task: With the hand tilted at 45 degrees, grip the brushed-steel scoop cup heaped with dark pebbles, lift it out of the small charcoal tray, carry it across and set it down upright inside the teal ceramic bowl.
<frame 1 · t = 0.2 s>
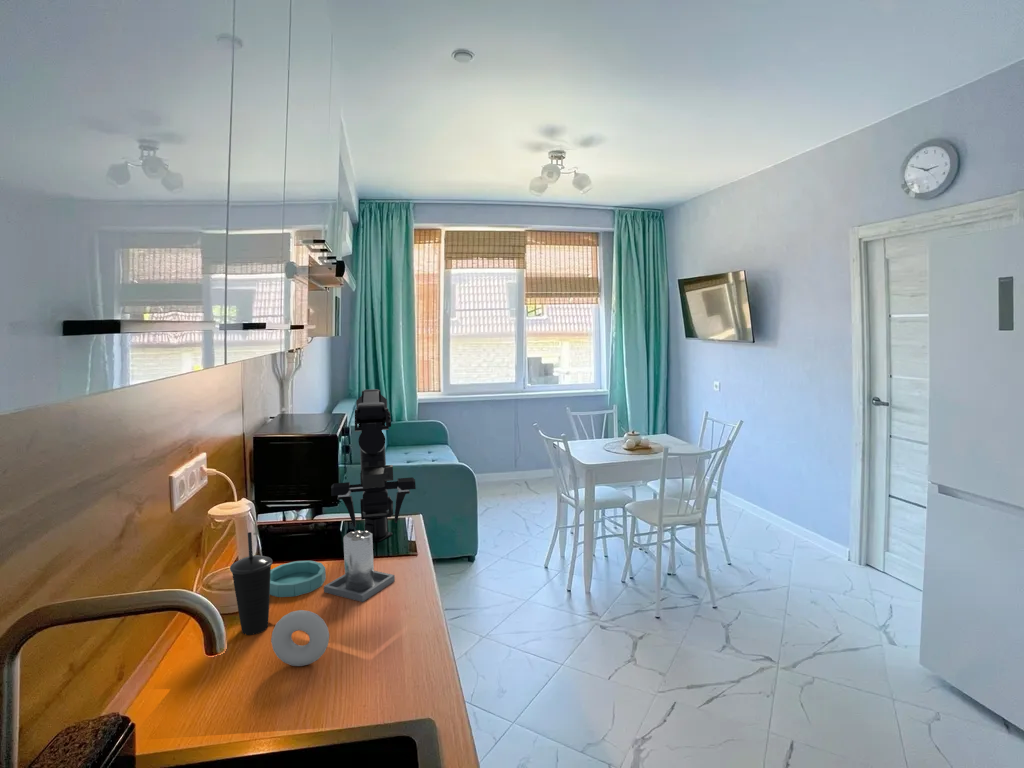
hand: (375, 524, 126), 15 cm above the worktop, tool tilted 15°, fingers open, 9 cm apart
parts tray: (360, 589, 127), on the worktop
drinking cup: (255, 629, 111), on the worktop
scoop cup: (360, 586, 127), point 1 cm above the worktop, touching parts tray
donut: (301, 665, 99), on the worktop
bowl: (295, 586, 129), on the worktop
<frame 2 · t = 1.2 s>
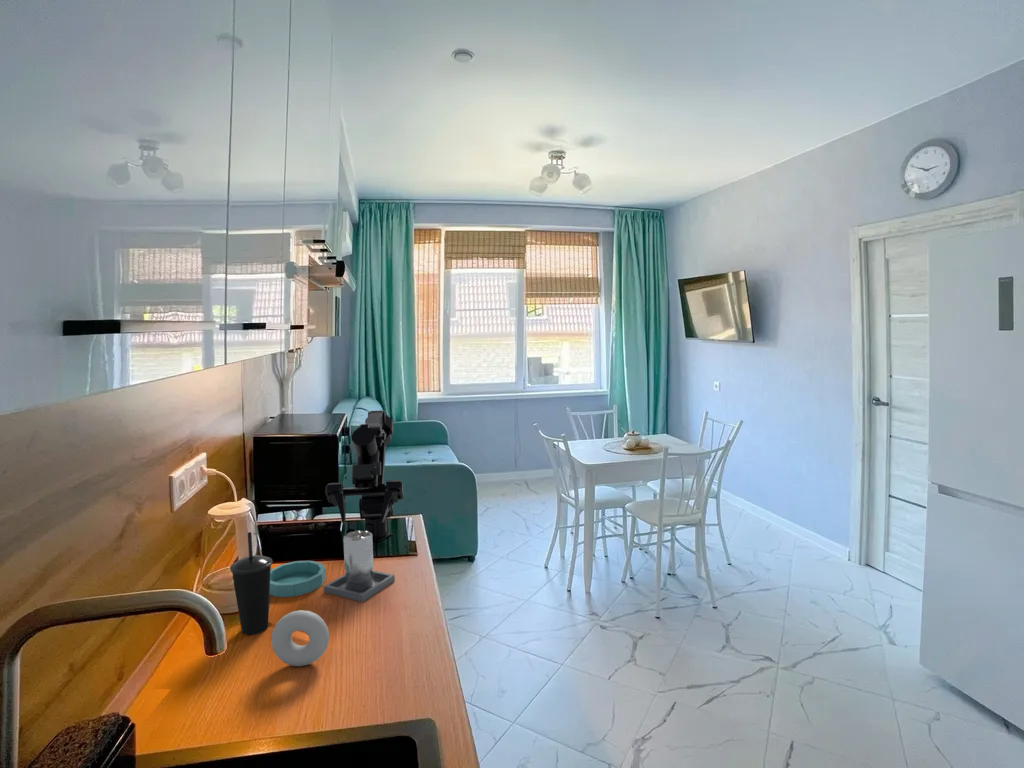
hand: (362, 522, 134), 13 cm above the worktop, tool tilted 45°, fingers open, 9 cm apart
nothing on the worktop moved.
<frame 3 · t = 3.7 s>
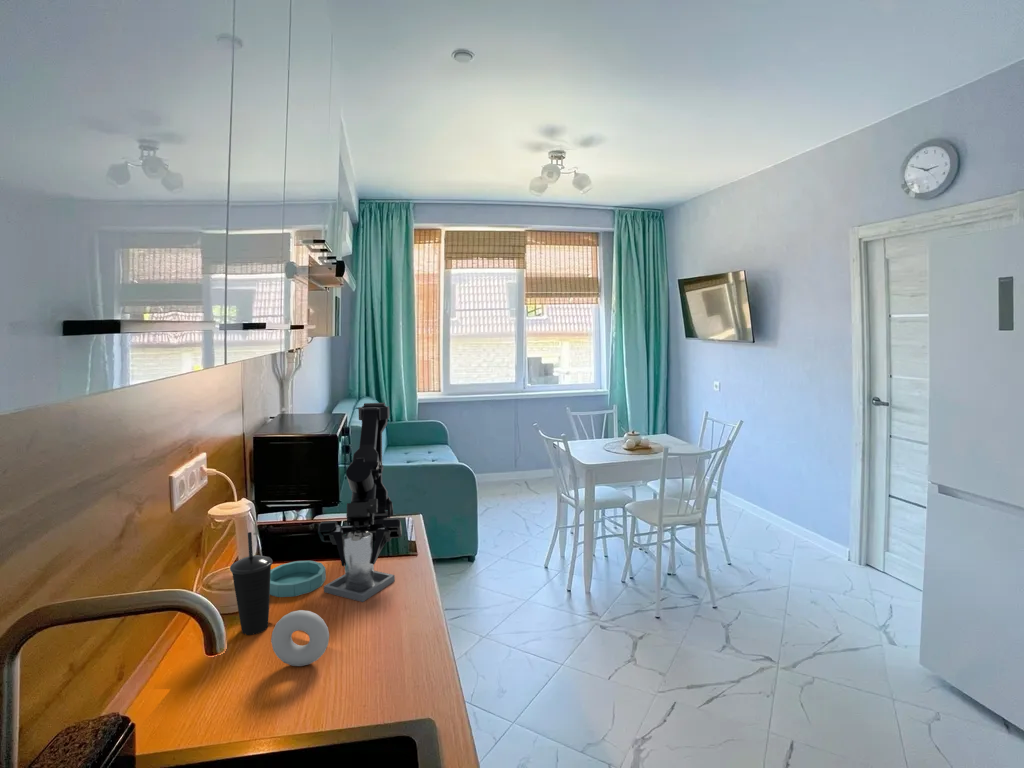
hand: (358, 564, 125), 7 cm above the worktop, tool tilted 45°, fingers closed on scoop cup, 6 cm apart
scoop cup: (360, 586, 127), point 1 cm above the worktop, touching gripper, parts tray
everything else where it was.
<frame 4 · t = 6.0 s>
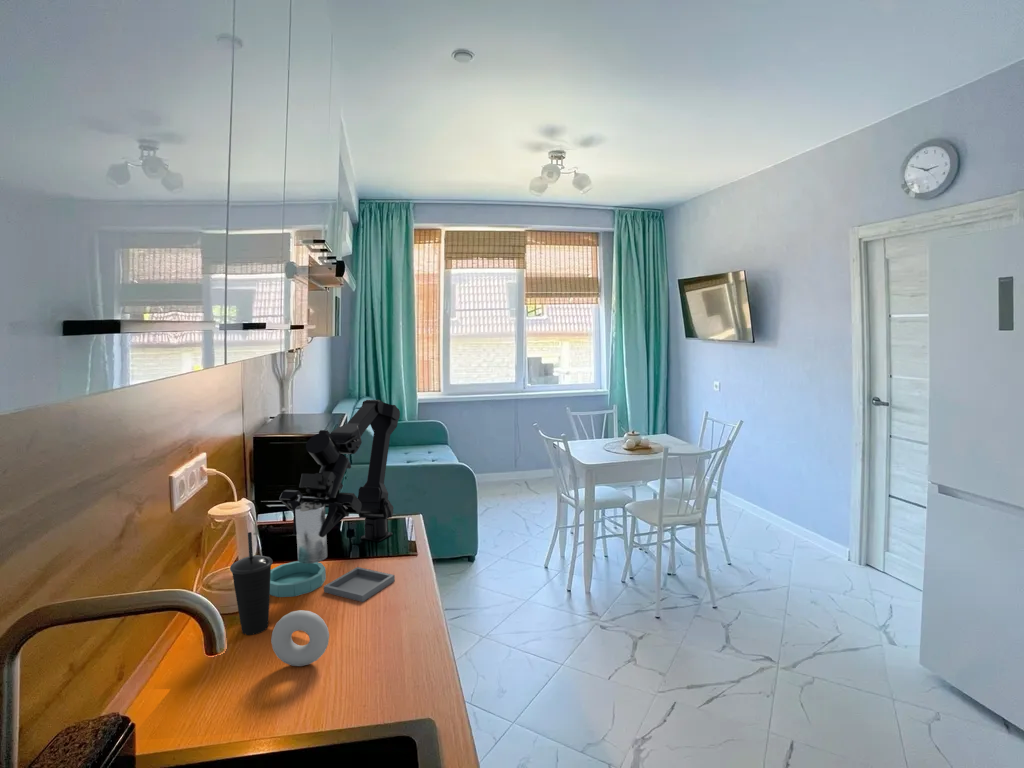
hand: (308, 535, 125), 13 cm above the worktop, tool tilted 45°, fingers closed on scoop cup, 6 cm apart
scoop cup: (312, 557, 127), point 8 cm above the worktop, touching gripper
everything else where it was.
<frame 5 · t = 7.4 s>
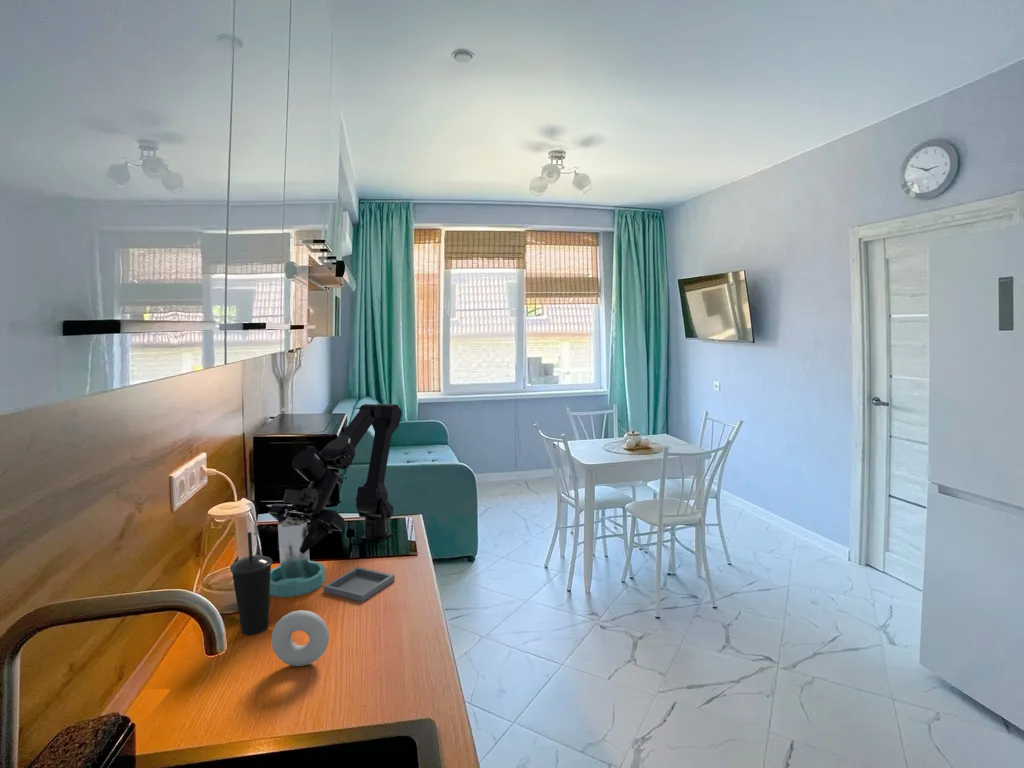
hand: (290, 550, 127), 9 cm above the worktop, tool tilted 45°, fingers closed on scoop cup, 6 cm apart
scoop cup: (295, 572, 129), point 3 cm above the worktop, touching gripper
everything else where it was.
when the fingers open (8 cm above the worktop, at t = 8.2 s): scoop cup drops 1 cm, resting on bowl.
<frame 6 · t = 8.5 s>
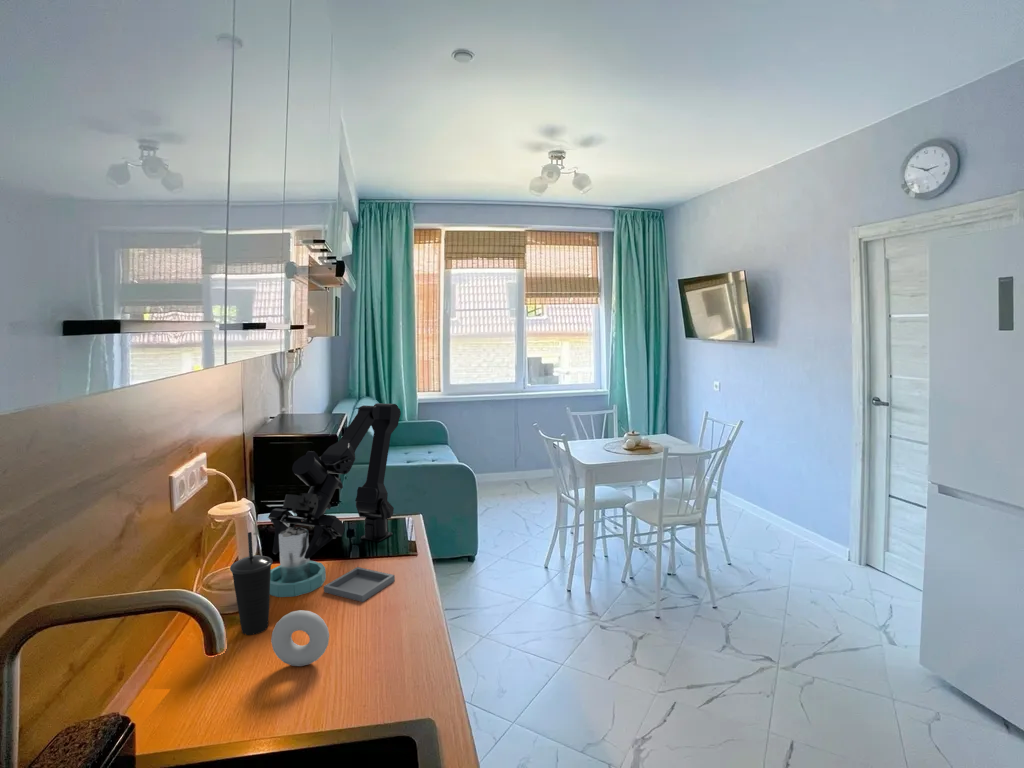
hand: (289, 555, 127), 8 cm above the worktop, tool tilted 45°, fingers open, 9 cm apart
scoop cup: (296, 582, 129), point 1 cm above the worktop, touching bowl
everything else where it was.
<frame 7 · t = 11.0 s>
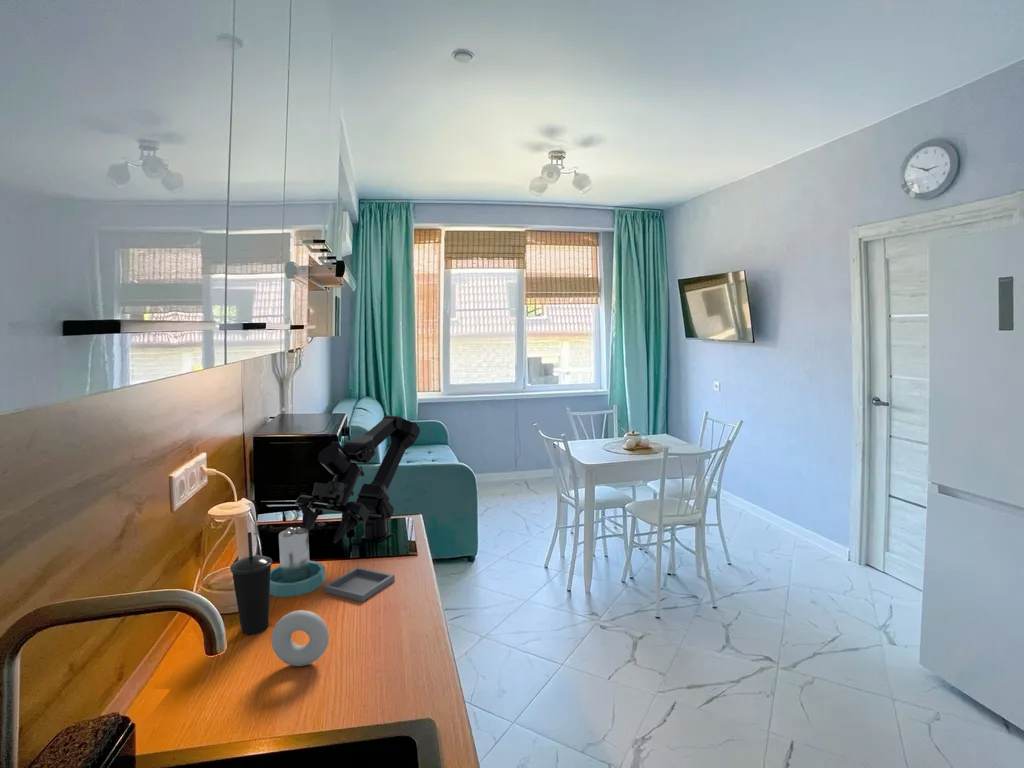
hand: (318, 539, 136), 8 cm above the worktop, tool tilted 45°, fingers open, 9 cm apart
nothing on the worktop moved.
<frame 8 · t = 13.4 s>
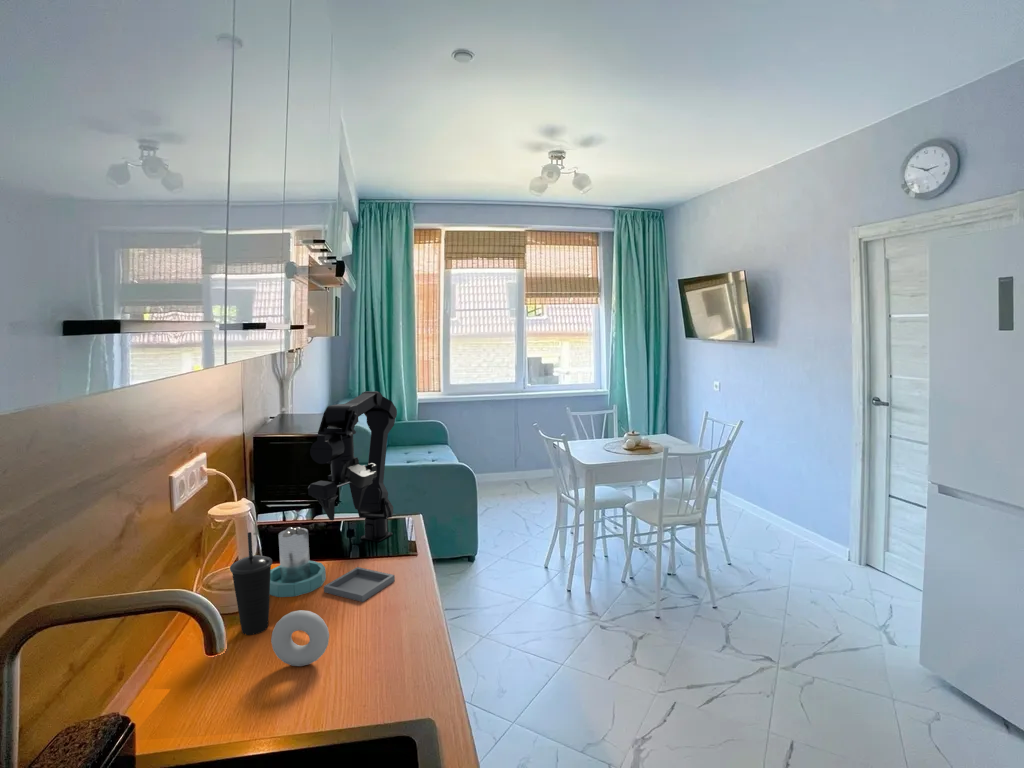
hand: (344, 514, 141), 13 cm above the worktop, tool pointing down, fingers open, 9 cm apart
nothing on the worktop moved.
at the end: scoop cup inside the target area on the bowl (0.1 cm from its centre), point 1.0 cm above the bowl's base; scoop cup tilted 0°; the gripper is holding nothing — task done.
